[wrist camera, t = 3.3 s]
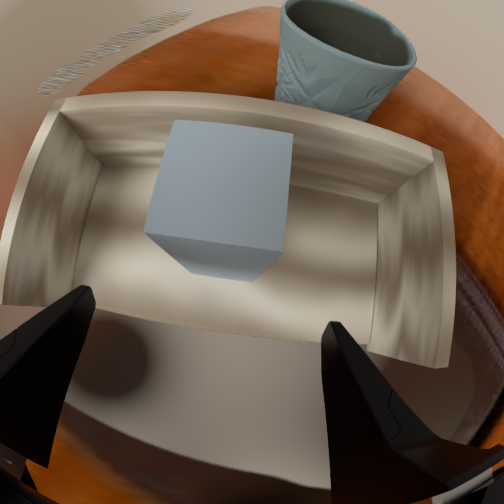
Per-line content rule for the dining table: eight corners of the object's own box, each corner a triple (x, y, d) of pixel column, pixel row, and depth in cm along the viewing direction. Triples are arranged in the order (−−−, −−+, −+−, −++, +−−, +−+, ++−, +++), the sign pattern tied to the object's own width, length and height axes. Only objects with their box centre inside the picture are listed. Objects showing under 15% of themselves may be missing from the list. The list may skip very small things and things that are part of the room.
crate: (377, 350, 21) (447, 366, 12) (62, 304, 19) (-9, 299, 10) (384, 196, 23) (442, 152, 15) (98, 156, 22) (55, 99, 13)
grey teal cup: (377, 134, 25) (436, 61, 13) (308, 175, 23) (364, 80, 11) (315, 72, 26) (345, -8, 14) (242, 100, 24) (252, -1, 13)
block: (252, 282, 20) (282, 251, 9) (192, 274, 20) (143, 232, 8) (259, 224, 21) (293, 133, 10) (201, 216, 21) (174, 119, 9)
